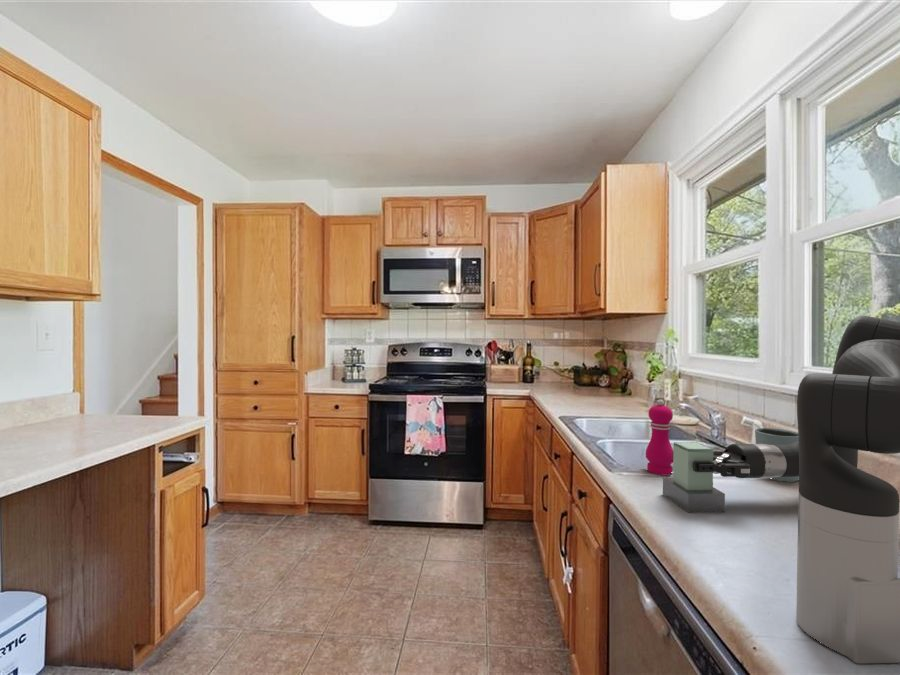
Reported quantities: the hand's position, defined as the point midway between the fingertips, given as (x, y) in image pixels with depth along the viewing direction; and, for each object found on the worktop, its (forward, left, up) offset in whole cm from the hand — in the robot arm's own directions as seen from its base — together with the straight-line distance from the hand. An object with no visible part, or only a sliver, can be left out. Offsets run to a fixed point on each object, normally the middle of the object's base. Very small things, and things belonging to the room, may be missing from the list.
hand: (683, 461), depth 94 cm
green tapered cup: (+17, -36, -10) cm, 41 cm away
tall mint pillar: (0, -2, -6) cm, 6 cm away
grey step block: (0, -2, -10) cm, 10 cm away
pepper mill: (+21, -6, -10) cm, 24 cm away
